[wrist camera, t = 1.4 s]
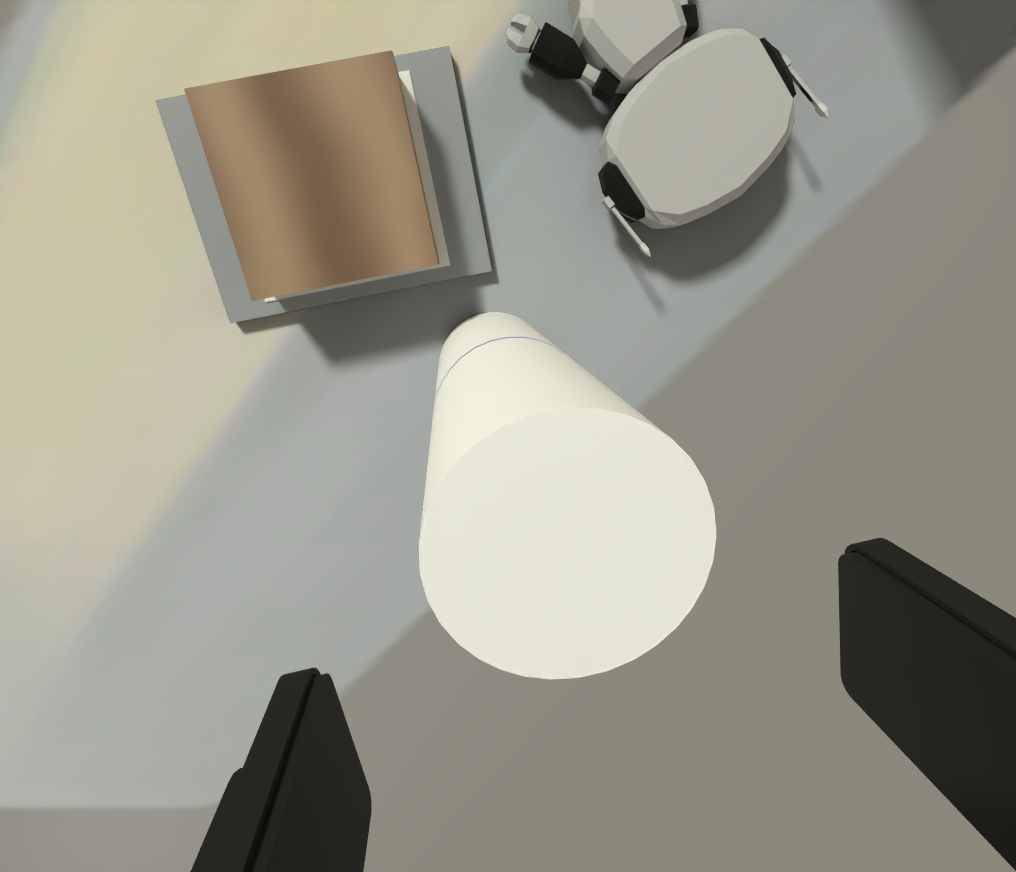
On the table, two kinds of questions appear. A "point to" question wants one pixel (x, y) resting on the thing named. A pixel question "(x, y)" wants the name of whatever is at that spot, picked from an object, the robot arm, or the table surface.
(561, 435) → the cylindrical container
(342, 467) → the table surface
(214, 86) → the plinth
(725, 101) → the robot toy
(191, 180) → the plate
